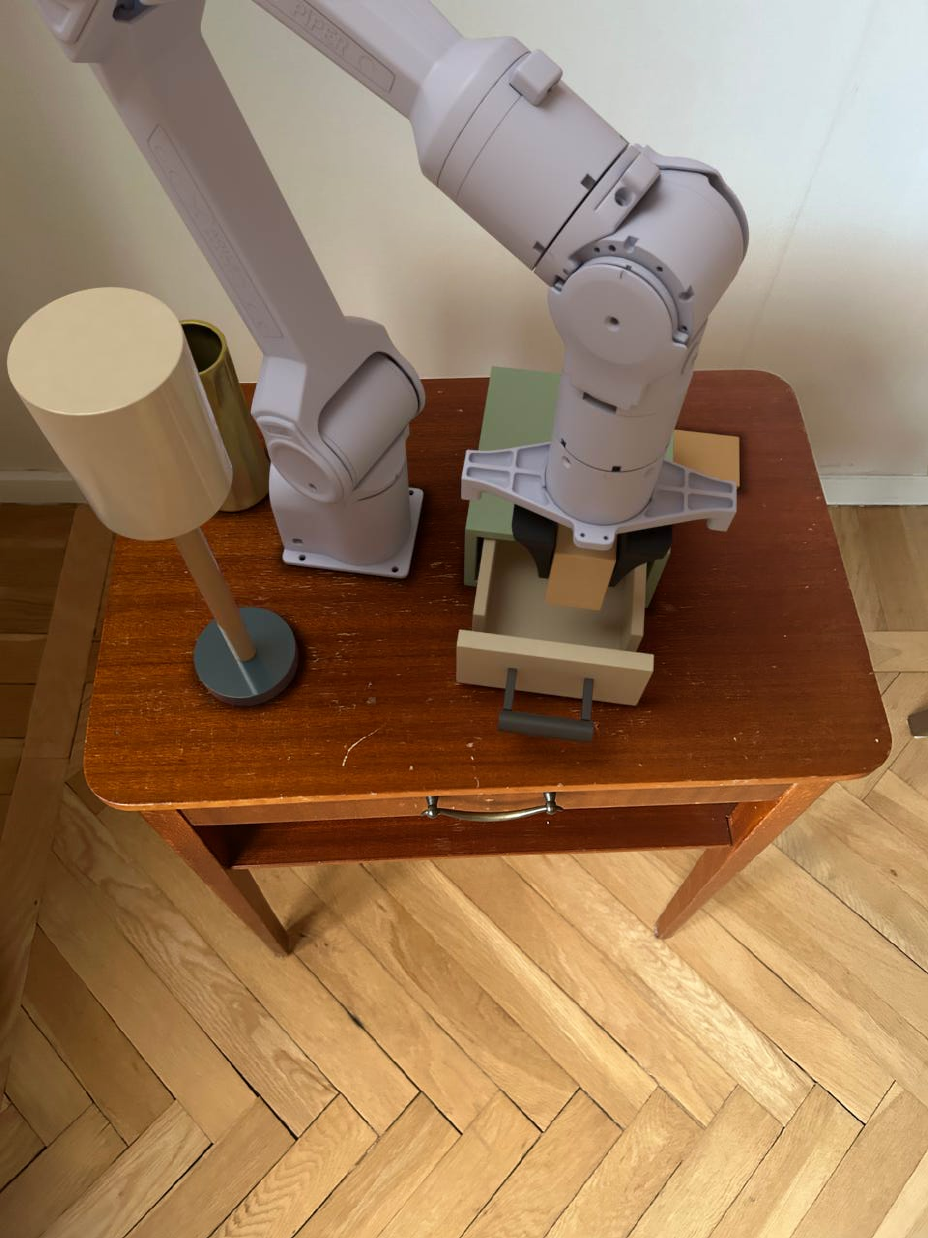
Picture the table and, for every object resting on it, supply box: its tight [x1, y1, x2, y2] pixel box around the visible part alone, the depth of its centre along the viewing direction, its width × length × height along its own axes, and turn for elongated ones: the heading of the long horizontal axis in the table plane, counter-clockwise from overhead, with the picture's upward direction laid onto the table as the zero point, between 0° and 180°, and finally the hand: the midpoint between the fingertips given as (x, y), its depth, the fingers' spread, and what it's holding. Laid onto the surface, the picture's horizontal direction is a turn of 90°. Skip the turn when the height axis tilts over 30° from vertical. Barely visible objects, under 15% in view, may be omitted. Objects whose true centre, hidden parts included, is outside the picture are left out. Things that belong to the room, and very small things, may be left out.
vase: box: [179, 319, 271, 512], centre depth 63 cm, size 6×6×14 cm
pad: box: [673, 429, 741, 490], centre depth 70 cm, size 6×5×1 cm
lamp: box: [6, 286, 300, 707], centre depth 49 cm, size 7×7×30 cm
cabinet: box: [463, 365, 674, 609], centre depth 65 cm, size 15×14×8 cm
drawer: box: [455, 537, 655, 745], centre depth 60 cm, size 18×12×6 cm
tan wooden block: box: [545, 522, 618, 610], centre depth 53 cm, size 4×4×6 cm
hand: (577, 568), depth 55 cm, fingers closed on tan wooden block, 3 cm apart
